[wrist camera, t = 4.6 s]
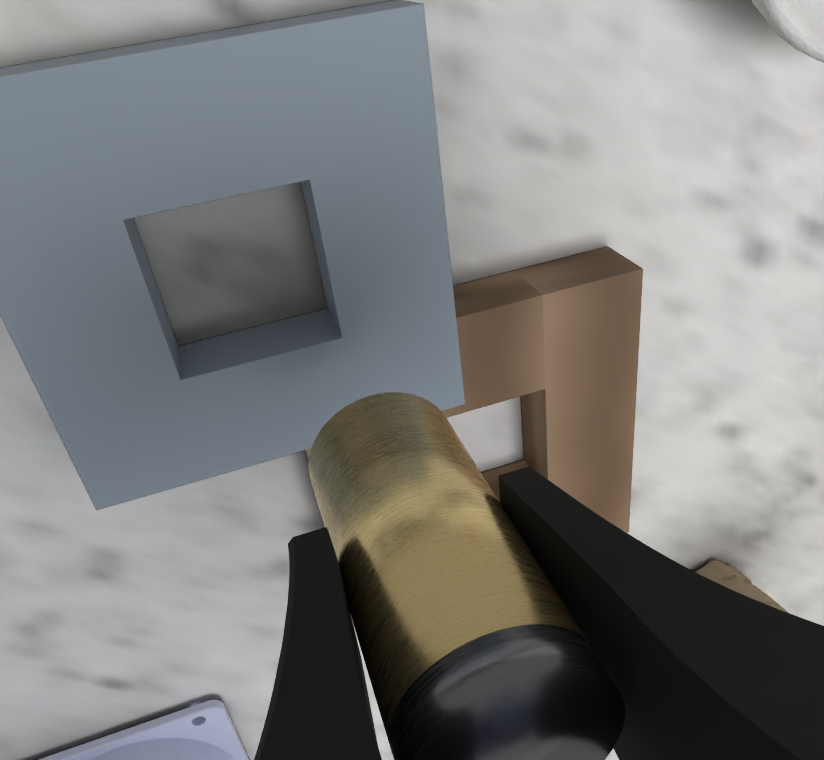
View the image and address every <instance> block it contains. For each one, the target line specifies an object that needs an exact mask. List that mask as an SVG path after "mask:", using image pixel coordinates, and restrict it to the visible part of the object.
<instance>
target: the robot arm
mask: <svg viewBox="0 0 824 760" xmlns="http://www.w3.org/2000/svg"><path fill="white" fill-rule="evenodd" d="M498 478H499V494H500V504H501V505H502V507H503V509H504V510H505V512H506V513H507V515H508V516H509V518H510V520H511V521H512V523H513V524H514V526H515V527H516V529H517V531H518V532H519V534H520V535H521V537H522V539H523V540H524V542H525V543H526V545H527V546H528V548H529V550H530V551H531V553H532V554H533V556H534V557H535V559H536V561H537V562H538V564H539V565H540V567H541V569H542V570H543V572H544V573H545V575H546V576H547V578H548V580H549V581H550V583H551V584H552V586H553V587H554V589H555V591H556V592H557V594H558V595H559V597H560V599H561V600H562V602H563V603H564V605H565V606H566V608H567V610H568V611H569V613H570V614H571V616H572V617H573V619H574V621H575V622H576V624H577V625H578V627H579V629H580V630H581V632H582V633H583V635H584V636H585V638H586V640H587V641H588V643H589V644H590V646H591V647H592V649H593V651H594V652H595V654H596V655H597V657H598V659H599V660H600V662H601V663H602V665H603V666H604V668H605V670H606V671H607V673H608V674H609V676H610V677H611V679H612V681H613V682H614V684H615V685H616V687H617V689H618V690H619V692H620V693H621V695H622V697H623V700H624V702H625V709H626V714H625V722H624V726H623V729H622V732H621V734H620V736H619V739H618V741H617V742H616V744H615V746H614V747H613V748H614V750H615V752H616V754H617V756H618V758H619V760H824V626H822V625H819V624H816V623H814V622H811V621H808V620H805V619H803V618H800V617H797V616H794V615H792V614H789V613H787V612H784V611H782V610H779V609H777V608H774V607H772V606H769V605H767V604H764V603H762V602H759V601H757V600H754V599H752V598H749V597H747V596H745V595H743V594H740V593H738V592H736V591H734V590H731V589H729V588H727V587H725V586H723V585H721V584H719V583H717V582H714V581H712V580H710V579H708V578H706V577H704V576H702V575H700V574H698V573H696V572H694V571H692V570H690V569H688V568H686V567H684V566H682V565H680V564H679V563H677V562H675V561H673V560H671V559H669V558H668V557H666V556H664V555H663V554H661V553H659V552H657V551H656V550H654V549H652V548H650V547H649V546H647V545H645V544H644V543H642V542H640V541H639V540H637V539H635V538H634V537H632V536H630V535H629V534H627V533H626V532H624V531H623V530H621V529H620V528H618V527H616V526H615V525H613V524H612V523H610V522H609V521H607V520H606V519H604V518H603V517H601V516H599V515H598V514H597V513H595V512H594V511H592V510H591V509H589V508H588V507H586V506H585V505H583V504H582V503H580V502H579V501H578V500H576V499H575V498H573V497H572V496H570V495H569V494H568V493H566V492H565V491H563V490H562V489H561V488H559V487H558V486H556V485H555V484H554V483H552V482H551V481H549V480H548V479H547V478H545V477H544V476H542V475H541V474H540V473H538V472H537V471H535V470H534V469H532V468H531V467H529V466H528V467H525V468H522V469H518V470H515V471H512V472H508V473H505V474H502V475H498ZM288 548H289V561H290V577H289V593H288V605H287V613H286V620H285V628H284V636H283V642H282V648H281V653H280V658H279V663H278V668H277V674H276V679H275V684H274V689H273V693H272V697H271V701H270V705H269V709H268V713H267V717H266V721H265V725H264V728H263V732H262V735H261V739H260V742H259V746H258V749H257V753H256V756H255V759H254V760H382V759H381V756H380V752H379V749H378V745H377V739H376V734H375V729H374V723H373V718H372V713H371V708H370V702H369V697H368V692H367V686H366V681H365V676H364V670H363V665H362V660H361V655H360V651H359V647H358V643H357V639H356V635H355V631H354V626H353V622H352V618H351V614H350V610H349V606H348V601H347V597H346V593H345V589H344V585H343V581H342V577H341V572H340V568H339V564H338V560H337V556H336V553H335V550H334V547H333V544H332V541H331V538H330V535H329V532H328V529H327V527H325V528H322V529H319V530H315V531H312V532H309V533H305V534H302V535H299V536H295V537H293V538H292V539H291V541H290V542H289V543H288ZM39 760H249V759H248V756H247V754H246V752H245V750H244V747H243V745H242V743H241V741H240V739H239V736H238V734H237V732H236V730H235V728H234V725H233V723H232V721H231V719H230V716H229V714H228V712H227V710H226V708H225V705H224V704H223V703H222V702H221V701H219V700H209V701H206V702H203V703H200V704H197V705H194V706H191V707H188V708H186V709H183V710H180V711H177V712H174V713H171V714H168V715H165V716H163V717H160V718H157V719H154V720H151V721H148V722H145V723H142V724H140V725H137V726H134V727H131V728H128V729H125V730H122V731H119V732H116V733H114V734H111V735H108V736H105V737H102V738H99V739H96V740H93V741H91V742H88V743H85V744H82V745H79V746H76V747H73V748H70V749H67V750H65V751H62V752H59V753H56V754H53V755H50V756H47V757H44V758H42V759H39Z"/></svg>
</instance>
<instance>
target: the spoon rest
mask: <svg viewBox="0 0 824 760" xmlns="http://www.w3.org/2000/svg"><path fill="white" fill-rule="evenodd" d="M751 1H752V2H753V4H754V5H755V7H756V8H757V9H758V10H759V12H760V13H761V14H762V15H763V17H764V18H765V19H766V21H767V22H768V23H769V24H770V25H771V26H772V28H773V29H774V30H775V31H776V32H777V33H778V34H779V35H780V37H782V38H783V39H784V40H785V41H787V42H788V43H789V44H790V45H791V46H793V47H794V48H795V49H797V50H799V51H801V52H802V53H804V54H806V55H808V56H810V57H812V58H814V59H816V60H819V61H821V62H824V0H751Z"/></svg>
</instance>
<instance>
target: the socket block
mask: <svg viewBox="0 0 824 760" xmlns="http://www.w3.org/2000/svg"><path fill="white" fill-rule="evenodd" d="M297 182H301V185H302V190H303V194H304V199H305V204H306V208H307V213H308V218H309V223H310V227H311V232H312V237H313V242H314V246H315V251H316V256H317V260H318V265H319V270H320V275H321V279H322V284H323V289H324V293H325V298H326V303H327V308H328V309H324V310H320V311H316V312H312V313H308V314H304V315H300V316H296V317H292V318H288V319H284V320H280V321H276V322H272V323H268V324H264V325H260V326H256V327H252V328H248V329H244V330H240V331H236V332H232V333H228V334H224V335H221V336H217V337H213V338H209V339H205V340H201V341H197V342H193V343H189V344H185V345H181V346H178V344H177V341H176V339H175V336H174V333H173V330H172V327H171V324H170V321H169V319H168V316H167V313H166V310H165V307H164V304H163V301H162V299H161V296H160V293H159V290H158V287H157V284H156V281H155V279H154V276H153V273H152V270H151V267H150V264H149V261H148V259H147V256H146V253H145V250H144V247H143V244H142V241H141V239H140V236H139V233H138V230H137V227H136V224H135V221H134V219H133V218H134V217H139V216H143V215H148V214H153V213H157V212H162V211H167V210H171V209H176V208H181V207H185V206H190V205H194V204H199V203H204V202H208V201H213V200H218V199H222V198H227V197H232V196H236V195H241V194H246V193H250V192H255V191H259V190H264V189H269V188H273V187H278V186H283V185H287V184H292V183H297ZM0 316H1V318H2V320H3V322H4V324H5V326H6V328H7V330H8V332H9V334H10V336H11V338H12V340H13V342H14V344H15V346H16V348H17V350H18V352H19V354H20V356H21V359H22V361H23V363H24V365H25V367H26V369H27V371H28V373H29V375H30V377H31V379H32V381H33V383H34V385H35V387H36V389H37V391H38V393H39V395H40V397H41V399H42V401H43V403H44V405H45V407H46V409H47V411H48V413H49V415H50V417H51V419H52V421H53V423H54V425H55V428H56V430H57V432H58V434H59V436H60V438H61V440H62V442H63V444H64V446H65V448H66V450H67V452H68V454H69V456H70V458H71V460H72V462H73V464H74V466H75V468H76V470H77V472H78V474H79V476H80V478H81V480H82V482H83V484H84V486H85V488H86V490H87V492H88V494H89V496H90V499H91V501H92V503H93V505H94V507H95V509H96V510H99V509H103V508H106V507H110V506H113V505H116V504H120V503H123V502H127V501H130V500H134V499H137V498H141V497H144V496H148V495H151V494H155V493H158V492H162V491H165V490H168V489H172V488H175V487H179V486H182V485H186V484H189V483H193V482H196V481H200V480H203V479H207V478H210V477H214V476H217V475H221V474H224V473H227V472H231V471H234V470H238V469H241V468H245V467H248V466H252V465H255V464H259V463H262V462H266V461H269V460H273V459H276V458H279V457H283V456H286V455H290V454H293V453H297V452H300V451H304V450H307V449H311V448H312V445H313V443H314V440H315V439H316V437H317V435H318V433H319V432H320V430H321V429H322V428H323V426H324V425H325V424H326V423H327V422H328V421H329V420H330V419H331V417H333V416H334V415H335V414H336V413H337V412H339V411H340V410H341V409H343V408H344V407H346V406H347V405H349V404H351V403H353V402H355V401H357V400H359V399H362V398H364V397H367V396H371V395H375V394H380V393H386V392H401V393H409V394H413V395H417V396H419V397H422V398H424V399H426V400H428V401H430V402H431V403H433V404H434V405H435V406H437V407H438V408H439V409H440V410H441V411H442V410H446V409H449V408H453V407H456V406H460V405H463V404H465V399H464V389H463V379H462V370H461V360H460V350H459V341H458V331H457V321H456V312H455V302H454V292H453V283H452V273H451V263H450V254H449V244H448V235H447V225H446V215H445V206H444V196H443V186H442V177H441V167H440V157H439V148H438V138H437V128H436V119H435V109H434V99H433V90H432V80H431V71H430V61H429V51H428V42H427V32H426V22H425V13H424V4H422V3H416V2H410V1H404V0H393V1H387V2H381V3H375V4H369V5H364V6H358V7H352V8H346V9H340V10H334V11H328V12H323V13H317V14H311V15H305V16H299V17H293V18H287V19H282V20H276V21H270V22H264V23H258V24H252V25H247V26H241V27H235V28H229V29H223V30H217V31H211V32H206V33H200V34H194V35H188V36H182V37H176V38H170V39H165V40H159V41H153V42H147V43H141V44H135V45H130V46H124V47H118V48H112V49H106V50H100V51H94V52H89V53H83V54H77V55H71V56H65V57H59V58H53V59H48V60H42V61H36V62H30V63H24V64H18V65H12V66H7V67H1V68H0Z"/></svg>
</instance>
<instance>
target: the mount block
mask: <svg viewBox="0 0 824 760" xmlns="http://www.w3.org/2000/svg"><path fill="white" fill-rule="evenodd" d="M642 276H643V269H642V268H641V267H639V266H638V265H636V264H635V263H633V262H631V261H630V260H628V259H627V258H625V257H624V256H622V255H620V254H619V253H617V252H616V251H614V250H613V249H611V248H609V247H605V248H601V249H597V250H593V251H589V252H585V253H581V254H577V255H573V256H569V257H565V258H561V259H557V260H554V261H550V262H546V263H542V264H538V265H534V266H530V267H526V268H522V269H518V270H514V271H510V272H506V273H502V274H498V275H495V276H491V277H487V278H483V279H479V280H475V281H471V282H467V283H463V284H459V285H455V286H453V292H454V302H455V312H456V321H457V331H458V341H459V350H460V360H461V370H462V379H463V389H464V399H465V404H463V405H460V406H456V407H453V408H449V409H446V410H442V411H441V412H442V413H443V414H444V416H445V417H446V418H447V417H450V416H453V415H457V414H460V413H464V412H467V411H471V410H474V409H477V408H481V407H484V406H488V405H491V404H495V403H498V402H502V401H505V400H508V399H512V398H515V397H519V396H521V412H522V431H523V450H524V460H522V461H519V462H515V463H512V464H509V465H506V466H502V467H499V468H496V469H493V470H489V471H486V472H483V473H481V474H482V475H483V477H484V479H485V480H486V482H487V483H488V485H489V486H490V488H491V490H492V491H493V493H494V494H495V496H496V497H497V499H498V501H499V502H500V494H499V478H498V475H502V474H505V473H508V472H512V471H515V470H518V469H522V468H525V467H528V466H529V467H531V468H532V469H534V470H535V471H537V472H538V473H540V474H541V475H542V476H544V477H545V478H547V479H548V480H549V481H551V482H552V483H554V484H555V485H556V486H558V487H559V488H561V489H562V490H563V491H565V492H566V493H568V494H569V495H570V496H572V497H573V498H575V499H576V500H578V501H579V502H580V503H582V504H583V505H585V506H586V507H588V508H589V509H591V510H592V511H594V512H595V513H597V514H598V515H599V516H601V517H603V518H604V519H606V520H607V521H609V522H610V523H612V524H613V525H615V526H616V527H618V528H620V529H621V530H623V531H624V532H626V533H628V532H629V517H630V498H631V480H632V461H633V443H634V424H635V406H636V387H637V369H638V350H639V332H640V313H641V295H642ZM310 451H311V449H307V450H305V453H306V456H307V460H308V464H309V455H310ZM350 614H351V613H350ZM351 618H352V617H351ZM352 622H353V620H352ZM353 626H354V623H353Z"/></svg>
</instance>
